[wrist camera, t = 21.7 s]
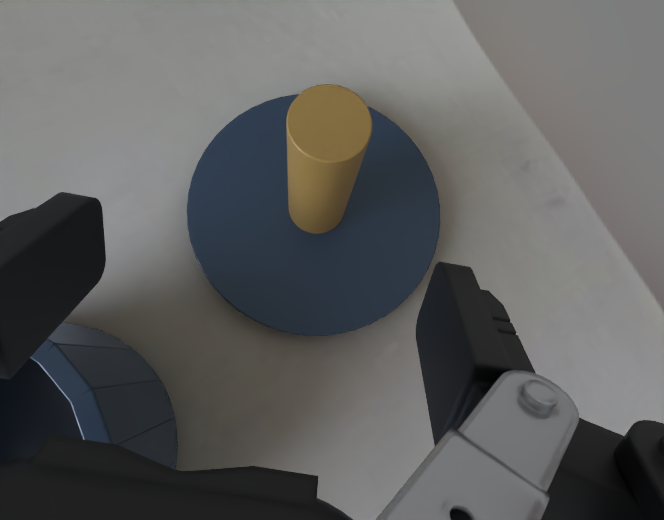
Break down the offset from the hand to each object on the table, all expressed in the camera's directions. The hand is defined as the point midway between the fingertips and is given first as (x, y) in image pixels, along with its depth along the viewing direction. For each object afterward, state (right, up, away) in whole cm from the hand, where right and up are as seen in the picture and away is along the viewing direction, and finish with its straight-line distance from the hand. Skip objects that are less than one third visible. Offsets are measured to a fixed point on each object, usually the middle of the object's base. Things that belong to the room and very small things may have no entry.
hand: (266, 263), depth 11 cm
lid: (+1, +3, +14) cm, 14 cm away
